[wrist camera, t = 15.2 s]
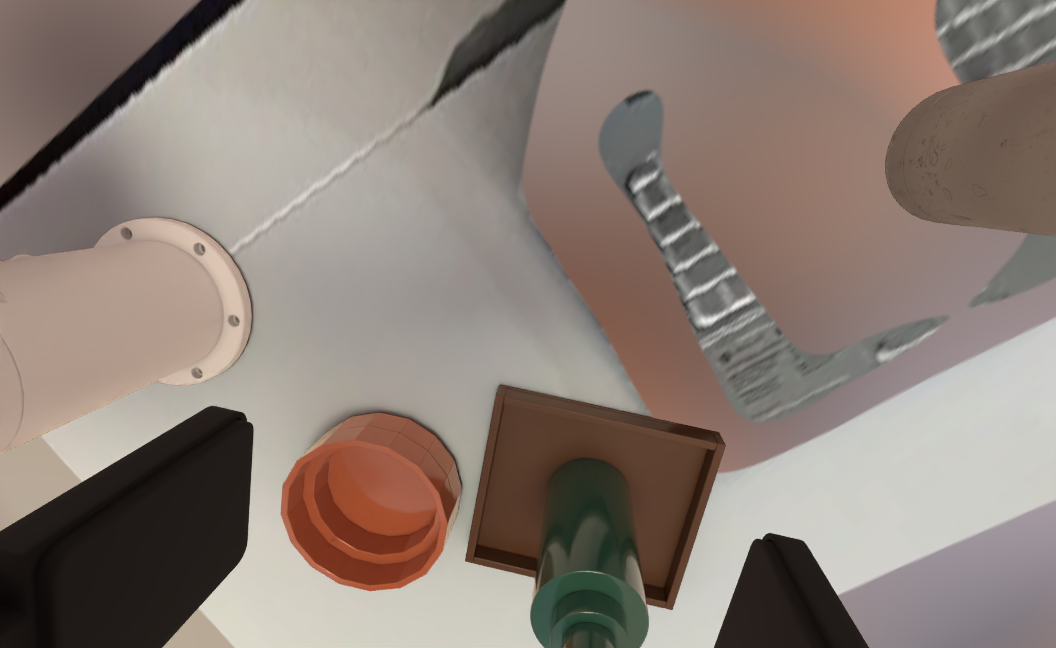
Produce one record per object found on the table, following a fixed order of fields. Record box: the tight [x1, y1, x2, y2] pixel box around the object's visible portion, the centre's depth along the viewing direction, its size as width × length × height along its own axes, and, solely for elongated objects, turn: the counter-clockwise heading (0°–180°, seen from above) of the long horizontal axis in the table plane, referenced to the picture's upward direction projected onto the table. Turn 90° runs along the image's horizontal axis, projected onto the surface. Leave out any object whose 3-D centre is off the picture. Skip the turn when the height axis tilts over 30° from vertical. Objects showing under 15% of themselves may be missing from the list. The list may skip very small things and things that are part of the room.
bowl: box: [281, 413, 462, 591], centre depth 40 cm, size 12×12×5 cm
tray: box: [465, 385, 726, 610], centre depth 40 cm, size 16×14×2 cm
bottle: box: [530, 458, 649, 648], centre depth 32 cm, size 6×6×17 cm
